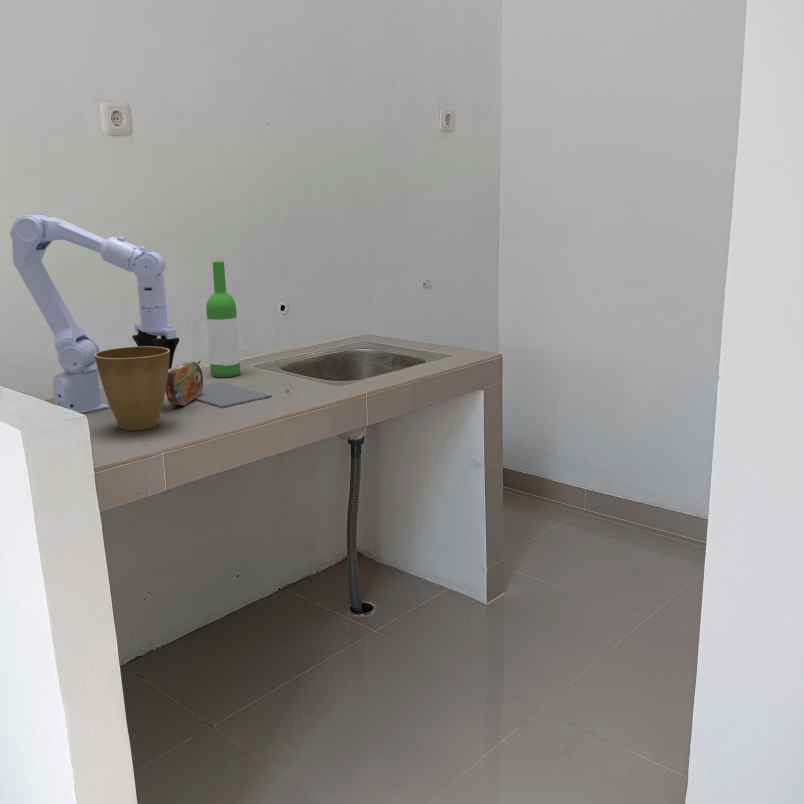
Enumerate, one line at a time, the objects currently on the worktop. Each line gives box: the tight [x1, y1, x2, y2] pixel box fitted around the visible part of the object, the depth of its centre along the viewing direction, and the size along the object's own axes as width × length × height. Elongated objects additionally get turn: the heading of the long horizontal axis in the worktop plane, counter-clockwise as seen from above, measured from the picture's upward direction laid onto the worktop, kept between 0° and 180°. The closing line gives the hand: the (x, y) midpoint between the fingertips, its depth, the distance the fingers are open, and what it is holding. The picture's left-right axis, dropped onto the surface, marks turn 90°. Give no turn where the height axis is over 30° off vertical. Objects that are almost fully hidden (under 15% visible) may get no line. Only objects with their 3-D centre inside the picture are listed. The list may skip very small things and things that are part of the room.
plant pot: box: [94, 346, 170, 432], centre depth 180 cm, size 15×15×16 cm
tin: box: [165, 361, 204, 407], centre depth 200 cm, size 15×3×8 cm, turn 168°
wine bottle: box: [205, 260, 241, 378], centre depth 226 cm, size 8×8×30 cm
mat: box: [193, 381, 273, 409], centre depth 208 cm, size 14×22×1 cm, turn 45°
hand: (158, 366), depth 195 cm, fingers open, 7 cm apart
